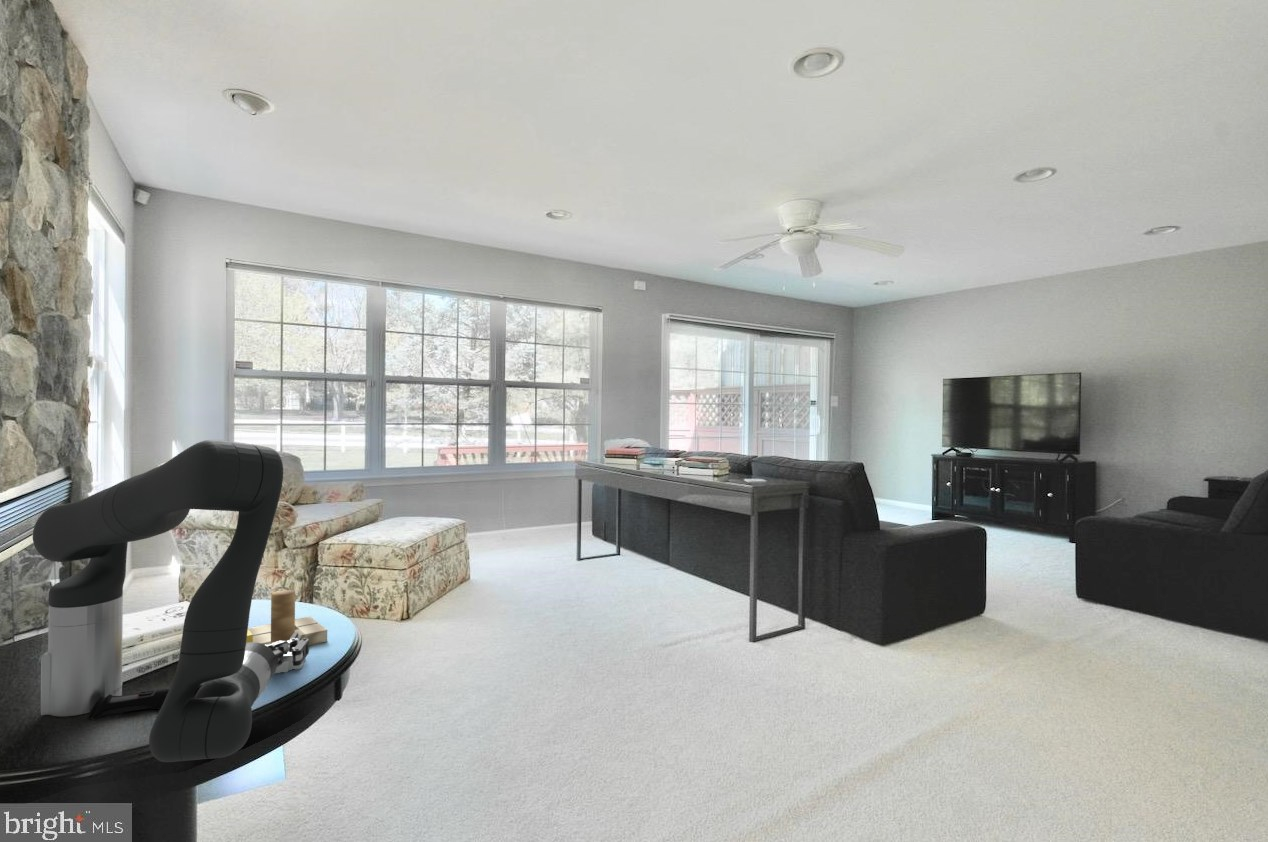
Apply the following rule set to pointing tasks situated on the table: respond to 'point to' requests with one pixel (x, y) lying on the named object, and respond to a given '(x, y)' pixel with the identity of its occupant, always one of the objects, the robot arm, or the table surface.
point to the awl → (282, 615)
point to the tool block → (287, 666)
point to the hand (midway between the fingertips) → (268, 640)
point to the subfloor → (302, 626)
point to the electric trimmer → (129, 702)
